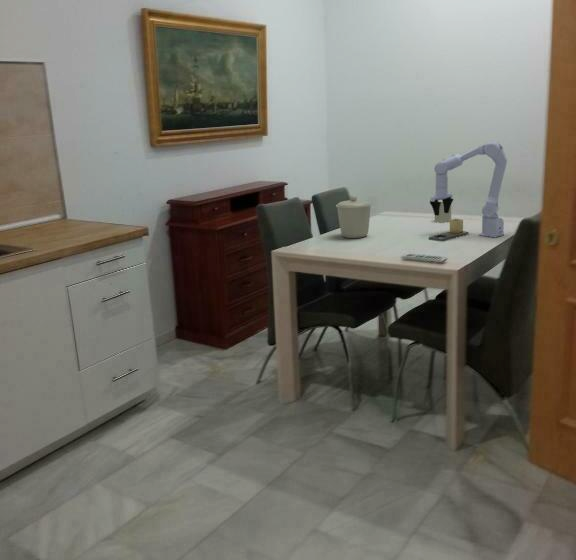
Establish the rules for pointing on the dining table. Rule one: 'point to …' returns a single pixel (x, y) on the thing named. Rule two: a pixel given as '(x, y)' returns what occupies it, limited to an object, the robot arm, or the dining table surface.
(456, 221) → the block
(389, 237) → the dining table surface
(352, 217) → the canister
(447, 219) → the can
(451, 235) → the grey frame plate
